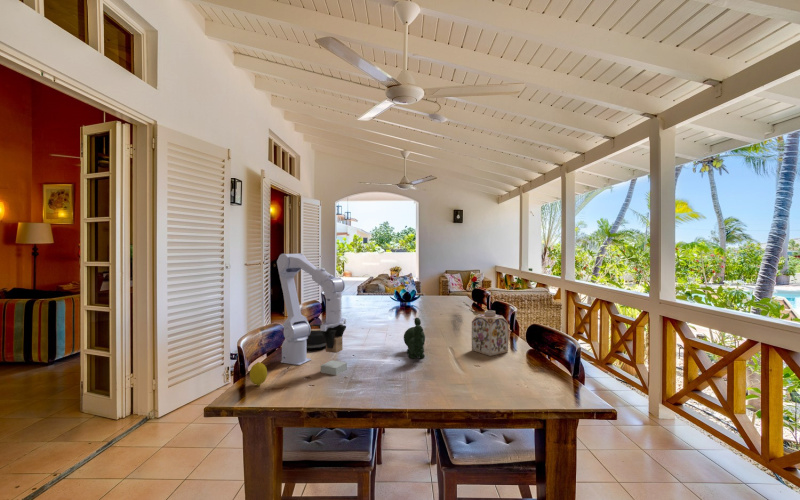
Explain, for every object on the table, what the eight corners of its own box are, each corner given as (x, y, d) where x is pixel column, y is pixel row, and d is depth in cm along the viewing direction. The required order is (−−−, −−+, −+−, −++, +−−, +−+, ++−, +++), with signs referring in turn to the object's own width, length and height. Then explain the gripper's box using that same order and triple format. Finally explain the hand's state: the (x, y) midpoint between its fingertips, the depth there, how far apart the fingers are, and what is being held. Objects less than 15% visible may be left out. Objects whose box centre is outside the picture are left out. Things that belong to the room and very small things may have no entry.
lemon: (250, 389, 128) (250, 365, 127) (248, 384, 132) (248, 361, 132) (268, 387, 130) (268, 363, 130) (265, 381, 135) (265, 358, 135)
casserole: (303, 338, 197) (303, 321, 197) (340, 338, 197) (340, 322, 197) (287, 352, 172) (287, 333, 172) (329, 352, 172) (329, 333, 172)
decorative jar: (509, 352, 171) (509, 311, 171) (490, 356, 165) (490, 314, 165) (488, 346, 181) (488, 308, 181) (470, 350, 175) (470, 310, 174)
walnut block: (325, 351, 145) (325, 338, 145) (332, 348, 149) (332, 335, 149) (336, 352, 143) (336, 339, 143) (342, 349, 148) (342, 336, 147)
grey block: (320, 373, 145) (320, 365, 145) (331, 367, 151) (331, 360, 151) (336, 376, 142) (336, 368, 142) (346, 370, 148) (346, 362, 148)
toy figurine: (430, 367, 156) (422, 345, 180) (430, 321, 154) (423, 305, 178) (406, 368, 155) (402, 346, 180) (406, 321, 153) (402, 306, 178)
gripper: (332, 314, 138) (332, 352, 138) (352, 308, 151) (352, 342, 151) (315, 312, 141) (315, 350, 141) (337, 306, 154) (337, 341, 154)
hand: (333, 346), depth 146 cm, fingers closed on walnut block, 4 cm apart
